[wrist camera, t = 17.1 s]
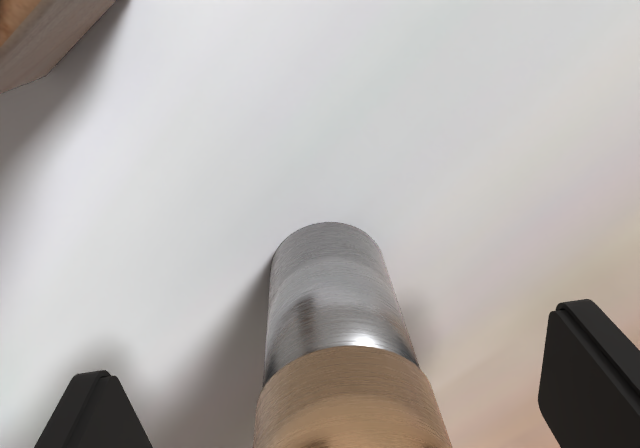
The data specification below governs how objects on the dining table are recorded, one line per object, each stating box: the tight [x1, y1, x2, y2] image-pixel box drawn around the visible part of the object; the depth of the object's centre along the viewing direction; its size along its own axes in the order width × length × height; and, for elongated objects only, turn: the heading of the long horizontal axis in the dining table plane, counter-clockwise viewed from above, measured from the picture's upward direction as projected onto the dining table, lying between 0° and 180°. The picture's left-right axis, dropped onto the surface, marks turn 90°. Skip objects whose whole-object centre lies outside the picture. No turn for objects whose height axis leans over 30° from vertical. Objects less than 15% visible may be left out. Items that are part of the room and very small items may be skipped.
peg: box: [253, 222, 452, 448], centre depth 10 cm, size 4×4×9 cm
